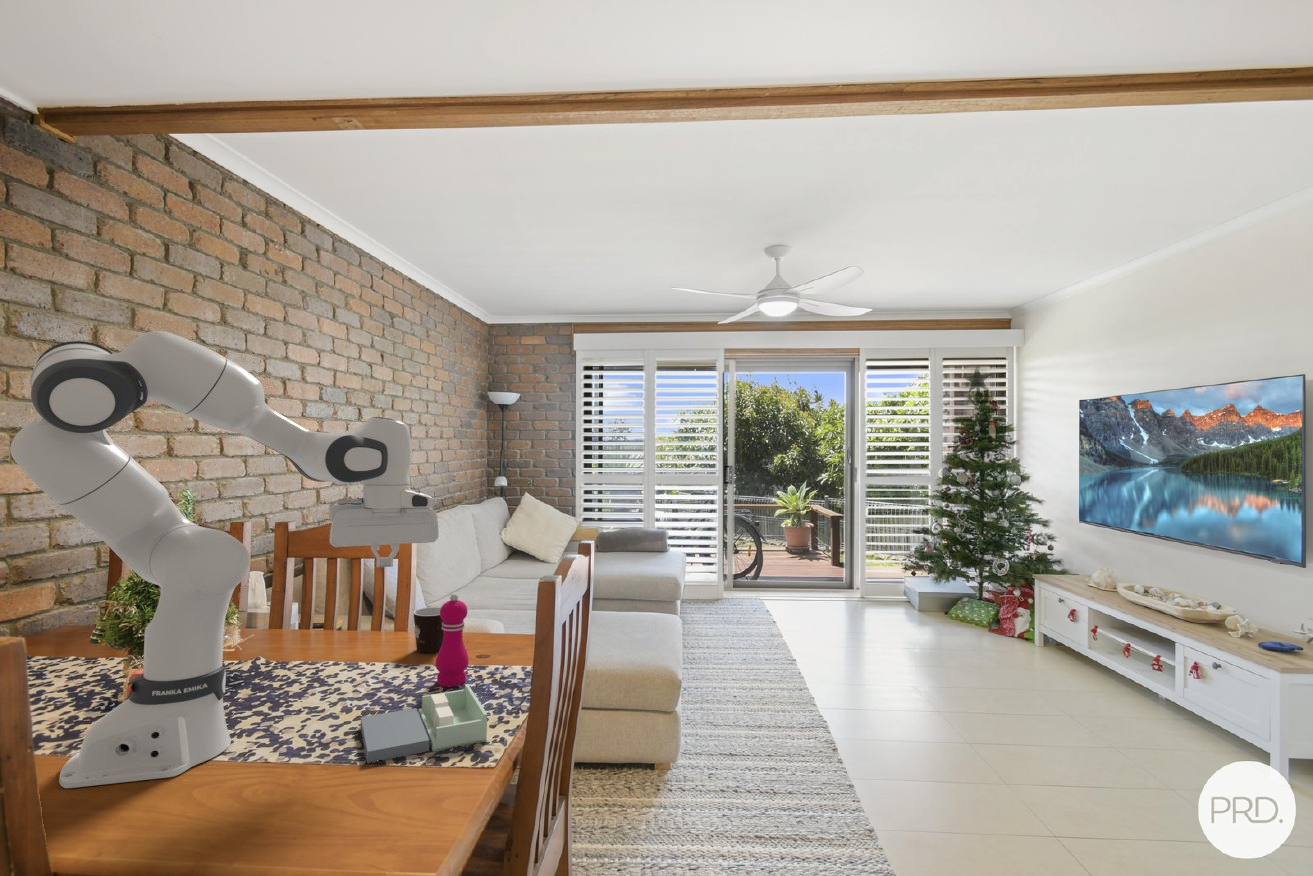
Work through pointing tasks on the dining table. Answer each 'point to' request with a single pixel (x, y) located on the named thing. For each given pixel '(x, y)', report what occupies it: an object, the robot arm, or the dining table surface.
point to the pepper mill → (452, 644)
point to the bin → (456, 721)
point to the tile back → (437, 705)
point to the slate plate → (393, 735)
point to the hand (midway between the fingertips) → (384, 566)
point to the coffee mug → (428, 630)
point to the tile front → (443, 717)
